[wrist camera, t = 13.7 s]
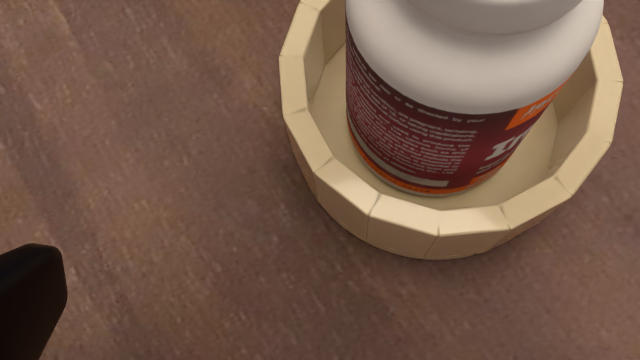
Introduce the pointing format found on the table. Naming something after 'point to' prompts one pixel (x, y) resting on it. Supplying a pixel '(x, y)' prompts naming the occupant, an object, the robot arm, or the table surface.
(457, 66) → the pill bottle
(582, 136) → the shallow bowl
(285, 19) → the table surface
